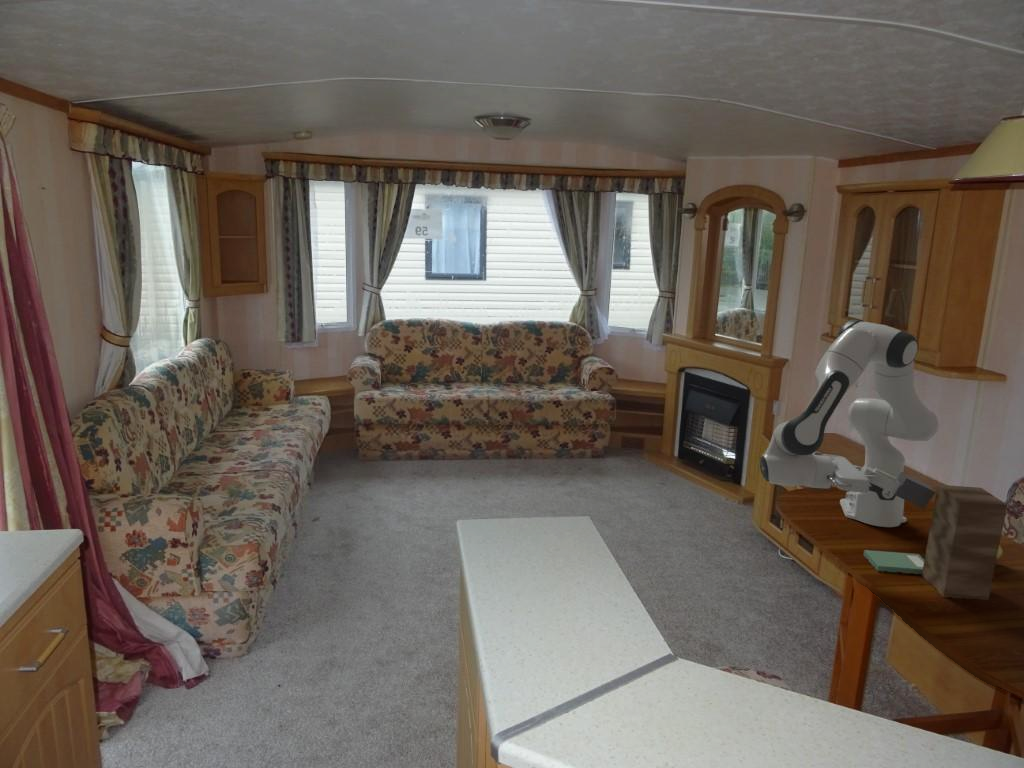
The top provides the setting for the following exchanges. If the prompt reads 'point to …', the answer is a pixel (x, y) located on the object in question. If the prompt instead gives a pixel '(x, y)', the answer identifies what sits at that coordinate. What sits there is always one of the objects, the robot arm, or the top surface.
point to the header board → (895, 561)
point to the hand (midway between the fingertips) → (874, 475)
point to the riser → (963, 541)
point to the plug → (903, 486)
